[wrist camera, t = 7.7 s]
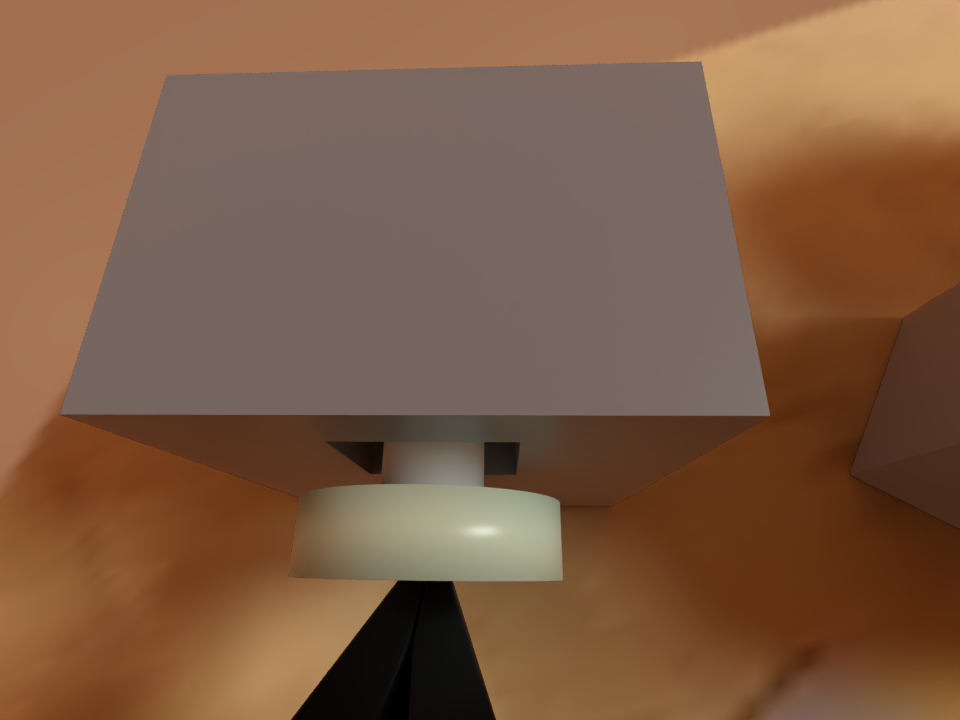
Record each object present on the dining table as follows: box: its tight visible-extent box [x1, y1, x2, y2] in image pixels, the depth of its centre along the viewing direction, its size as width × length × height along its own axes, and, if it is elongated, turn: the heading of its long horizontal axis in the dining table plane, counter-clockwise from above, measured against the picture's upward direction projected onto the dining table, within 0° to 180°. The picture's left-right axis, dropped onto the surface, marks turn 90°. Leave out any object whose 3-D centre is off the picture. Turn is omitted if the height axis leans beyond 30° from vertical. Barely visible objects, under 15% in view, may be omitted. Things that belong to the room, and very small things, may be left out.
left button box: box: [60, 62, 770, 506], centre depth 12 cm, size 6×9×10 cm, turn 89°
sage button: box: [288, 442, 563, 581], centre depth 10 cm, size 6×4×4 cm
